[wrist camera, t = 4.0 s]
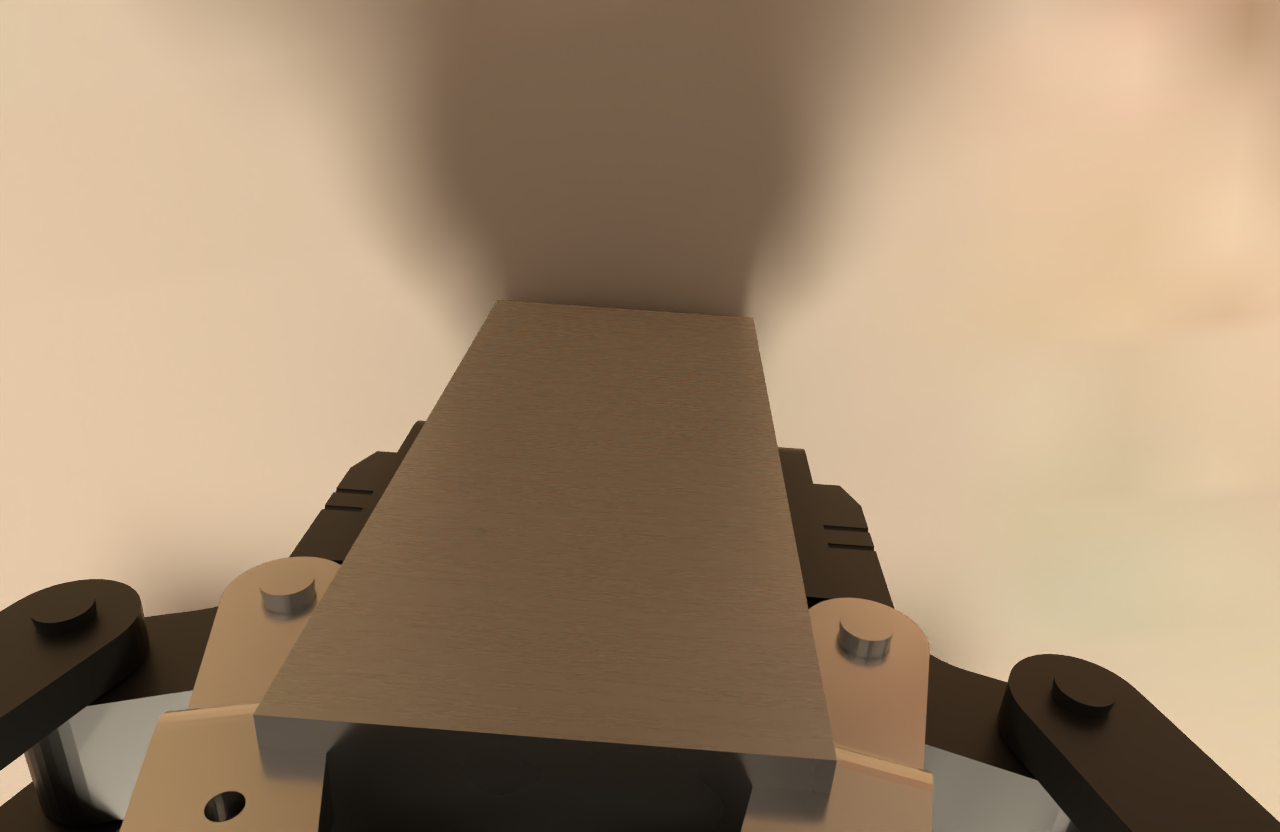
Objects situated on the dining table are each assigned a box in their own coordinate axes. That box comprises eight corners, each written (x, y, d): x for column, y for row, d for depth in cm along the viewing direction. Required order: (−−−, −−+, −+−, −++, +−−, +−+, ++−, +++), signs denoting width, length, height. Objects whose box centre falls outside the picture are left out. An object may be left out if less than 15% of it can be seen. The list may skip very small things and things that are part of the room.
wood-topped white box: (497, 299, 14) (252, 714, 6) (753, 317, 14) (837, 759, 6) (499, 518, 16) (309, 1063, 8) (727, 535, 16) (768, 1102, 8)
